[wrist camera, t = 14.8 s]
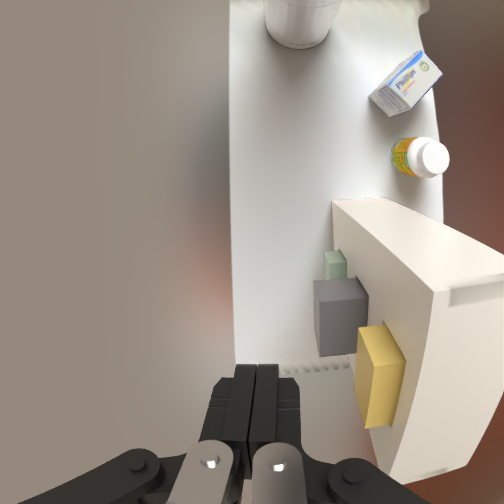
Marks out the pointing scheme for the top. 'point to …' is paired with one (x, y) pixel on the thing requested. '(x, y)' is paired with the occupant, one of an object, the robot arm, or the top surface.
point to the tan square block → (378, 375)
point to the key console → (428, 330)
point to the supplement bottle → (420, 157)
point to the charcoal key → (339, 315)
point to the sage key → (335, 265)
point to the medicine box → (406, 84)
